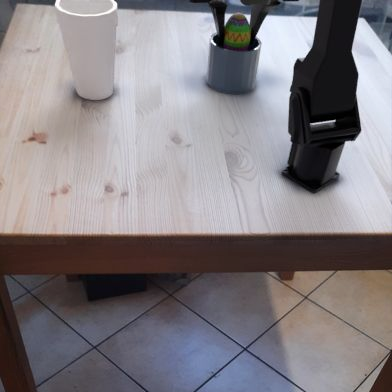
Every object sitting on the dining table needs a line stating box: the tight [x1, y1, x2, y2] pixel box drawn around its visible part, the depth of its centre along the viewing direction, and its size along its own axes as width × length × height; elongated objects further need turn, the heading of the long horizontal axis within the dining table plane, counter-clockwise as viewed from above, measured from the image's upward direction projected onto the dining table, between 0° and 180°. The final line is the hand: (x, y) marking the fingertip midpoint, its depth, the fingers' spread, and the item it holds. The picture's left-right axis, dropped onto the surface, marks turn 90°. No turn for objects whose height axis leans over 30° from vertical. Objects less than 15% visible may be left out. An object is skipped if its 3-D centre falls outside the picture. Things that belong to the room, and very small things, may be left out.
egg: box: [223, 12, 251, 51], centre depth 84 cm, size 5×5×6 cm
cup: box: [206, 31, 263, 95], centre depth 87 cm, size 9×9×7 cm
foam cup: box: [54, 0, 119, 101], centre depth 80 cm, size 10×9×13 cm
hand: (235, 44), depth 85 cm, fingers closed on egg, 5 cm apart
